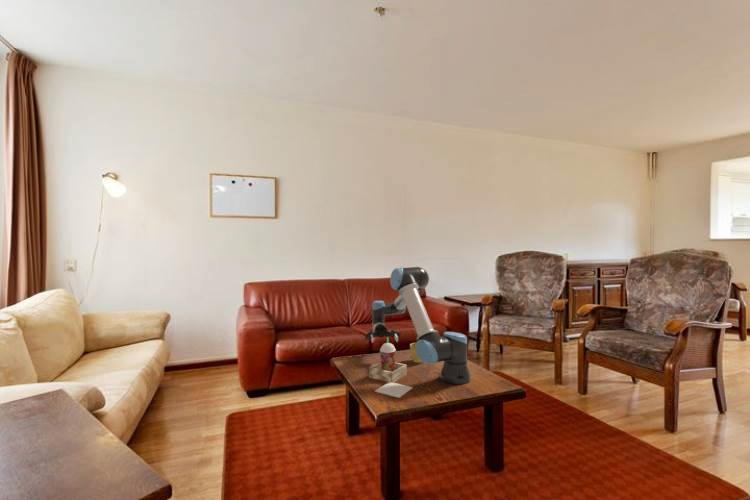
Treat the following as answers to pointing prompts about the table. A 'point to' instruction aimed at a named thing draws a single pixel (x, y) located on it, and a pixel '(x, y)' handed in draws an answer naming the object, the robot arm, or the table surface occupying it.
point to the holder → (388, 372)
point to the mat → (394, 389)
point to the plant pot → (414, 353)
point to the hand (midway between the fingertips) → (384, 339)
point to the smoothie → (388, 357)
